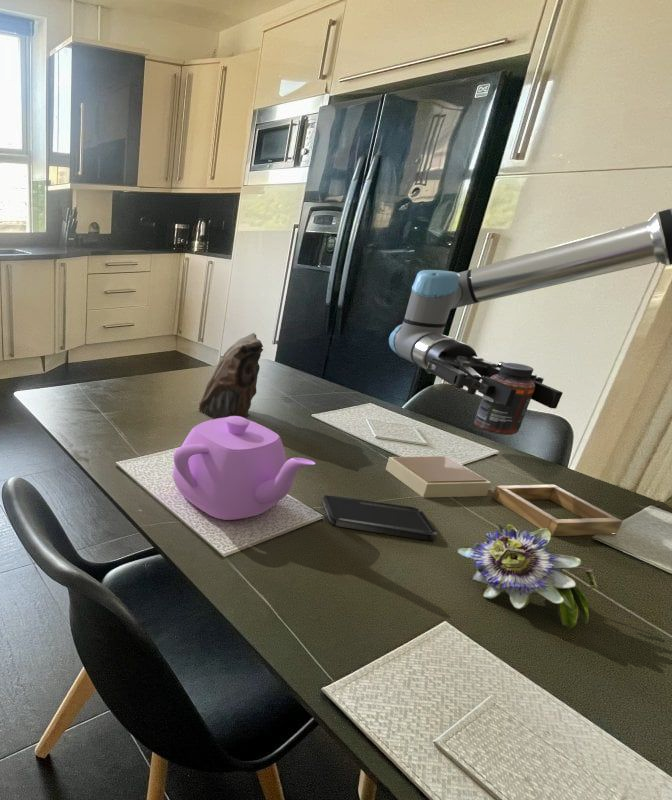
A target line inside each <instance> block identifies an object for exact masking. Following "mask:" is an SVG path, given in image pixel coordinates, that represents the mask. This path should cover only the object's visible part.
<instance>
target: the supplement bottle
mask: <svg viewBox="0 0 672 800" xmlns="http://www.w3.org/2000/svg"><path fill="white" fill-rule="evenodd" d="M499 371H500V373H498V374H496V375H493V376H491V377H490V378H492V379H494V380H496V381H498V382H500V383H503V384H505V385H507V386H509V387H511V388H513V389H515V390H517V391H516V393H515V396H514V399H513V401H512V404H511V406H505V405H503V404H501V403H499V402H497V401H495V400H493V399H491V398H490V397H488V396H486V395H484V394H482V397H481V400H480V403H479V407H478V408H477V412H476V415H475V417H474V421H473V423H474V425H475V426H476V427H477V428H479V429H481V430H483V431H486V432H489V433H492V434H496V435H504V436H505V435H506V436H507V435H508V436H509V435H510V436H512V435H515V434H516V435H517V434H518V432H519V430H520V428H521V425H522V423H523V420H524V417H525V415H526V413H527V410H528V407H529V405H530V403H531V400H532V399H531V397H532V395H533V392H534V389H535V383H534V382H533V381H531V379H530V376H532V374H533V372H534V368H533V367H532V366H529V365H527V364H523V363H515V362H505V363H503V364H502V365H501V368H500V370H499Z"/></svg>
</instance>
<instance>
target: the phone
mask: <svg viewBox="0 0 672 800" xmlns="http://www.w3.org/2000/svg"><path fill="white" fill-rule="evenodd" d="M321 502H322V506H323V508H324V511H325V514H326V517H327V520H328V522H329V523H330V524H331V525H333V526H335V527H341V528H347V529H353V530H358V531H359V530H360V531H364V532H372V533H377V534H384V535H390V536H397V537H403V538H408V539H415V540H420V541H428V542H434V541H435V540H436V537H437V535H438V532H437V530H436V529H435V527H434V526H433V524H432V523H431V522H430V520H429V518H428V517H427V516H426V514H425V513H424V512H423V510H421V509H419V508H417V507H413V506H407V505H401V504H393V503H388V502H381V501H375V500H373V501H372V500H367V499H360V498H353V497H345V496H341V495H340V496H339V495H332V494H325V495H323V497H322V501H321Z"/></svg>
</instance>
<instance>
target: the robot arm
mask: <svg viewBox="0 0 672 800" xmlns="http://www.w3.org/2000/svg"><path fill="white" fill-rule="evenodd" d="M655 263H658V264H662V265H664V266H671V265H672V207H671V208H667V209H664V210H661V211H657V212H654V213H653V215H652V216H651V217H650V218H648V220H646V221H641V222H638V223H634V224H632V225H627V226H623V227H620V228H617V229H613V230H609V231H606V232H601V233H599V234H595V235H591V236H587V237H583V238H580V239H577V240H573V241H569V242H565V243H562V244H558V245H554V246H551V247H547V248H544V249H540V250H537V251H532V252H529V253H525V254H522V255H518V256H515V257H511V258H507V259H503V260H499V261H497V262H493V263H489V264H485V265H482V266H477V267H474V268H472V269H468V270H464V271H460V272H456V271H451V270H443V269H441V270H440V269H422V270H420V271H419V272H417V273H416V276H415V279H414V281H413V284H412V286H411V291H410V296H409V299H408V304H407V306H406V311H405V315H404V319H403V321H402V324H399V325H397V326H396V327H395V328H394V329H393V330H392V332H391V333H390V335H389V338H388V345H389V347H390V349H391V350H392V351H393V352H394V353H395V354H396V355H398V356H399V357H400V358H401V359H403V360H406V361H409V362H410V363H413V364H414V365H416V366H418V367H420V368H422V369H423V370H425V372H426V373H428V374H432V375H434V376H436V377H438V378H440V379H441V380H443V381H444V382H446V383H447V384H448V385H451V386H453V387H454V388H456V389H463V388H464V387H466V388H467V390H466V393H467V394H468V395H476V393H477V391H478V393H480V394H482V395H483V394H484V395H486V396H488V397H490V398H491V399H493V400H495V401H497V402H499V403H501V404H503V405H505V406H511V404H512V401H513V399H514V396H515V393H516V391H517V390H515V389H513V388H511V387H509V386H507V385H505V384H503V383H500V382H498V381H496V380H494V379H492V378H490V377H491V376H493V375H496V374H498V373H500V371H499V370H500V368H501V365H502V364H503V363H506V362H505V361H498V363H494V362H491V361H488V360H485V359H484V358H483V357H479V356H478V354H477V352H476V350H475V349H474V348H473V346H471V345H469V344H467V343H464V342H462V341H460V340H457V339H455V338H453V337H450V336H448V335H445V334H444V331H445V328H446V325H447V321H448V318H449V315H450V312H451V310H453V309H457V308H461V307H466V306H470V305H474V304H478V303H482V302H486V301H487V302H488V301H491V300H495V299H500V298H505V297H508V296H509V297H510V296H513V295H517V294H518V295H519V294H523V293H526V292H531V291H537V290H539V289H545V288H548V287H553V286H558V285H562V284H567V283H571V282H575V281H579V280H583V279H589V278H593V277H598V276H603V275H606V274H610V273H615V272H619V271H624V270H629V269H632V268H637V267H642V266H647V265H651V264H655ZM530 379H531V381H533V382H534V383H535V389H534V392H533V395H532V397H531V400H533V401H534V402H537V403H539V404H541V405H543V406H545V407H547V408H550V409H557V407H558V405H559V403H560V400H561V398H562V396H563V394H564V392H563V391H561V390H558V389H556V388H554V387H551V386H549V385H546V384H544V380H545V378H543V377H542V376H539V375H538V374H537V373H535V374H534V373H532V376H530Z"/></svg>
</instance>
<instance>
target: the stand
mask: <svg viewBox="0 0 672 800" xmlns="http://www.w3.org/2000/svg"><path fill="white" fill-rule="evenodd" d="M385 471H387V472H388V473H389V474H391V475H392V476H394V477H395V478H396V479H397V480H399V481H400V482H401V483H403V484H404V485H405V486H407V487H408V488H410V489H411V490H412V491H413V492H415V493H416V494H418V495H419V496H420V497H421V498H424V499H425V498H427V499H428V498H460V497H461V498H463V497H464V498H465V497H466V498H467V497H487V495H488V493H489V490H490V487H491V486H492V482H491V481H490V480H488V479H486V478H484V477H483V476H481V475H479V474H478V473H476V472H475V471H473V470H471V469H470V468H468V467H466V466H465V465H463V464H461V463H459V462H458V461H456V460H454V459H453V458H452V457H450V456H448V455H431V456H425V455H424V456H388V460H387V463H386V467H385Z"/></svg>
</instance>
